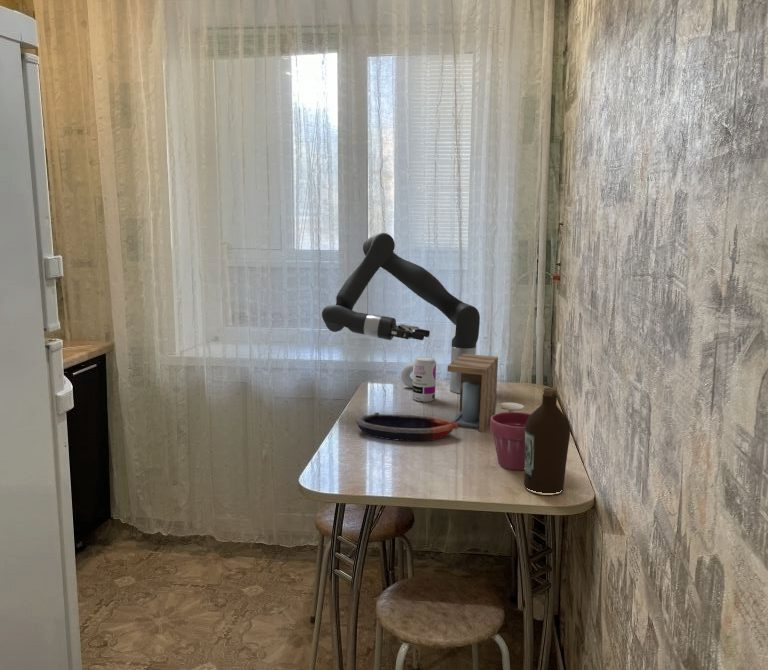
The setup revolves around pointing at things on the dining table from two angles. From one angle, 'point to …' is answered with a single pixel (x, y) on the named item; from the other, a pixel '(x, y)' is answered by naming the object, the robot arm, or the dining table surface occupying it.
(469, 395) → the tall pale blue cylinder
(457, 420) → the tray
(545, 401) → the olive oil
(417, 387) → the supplement can
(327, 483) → the dining table surface
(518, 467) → the plant pot
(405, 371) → the donut
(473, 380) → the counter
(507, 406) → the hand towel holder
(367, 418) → the dish
